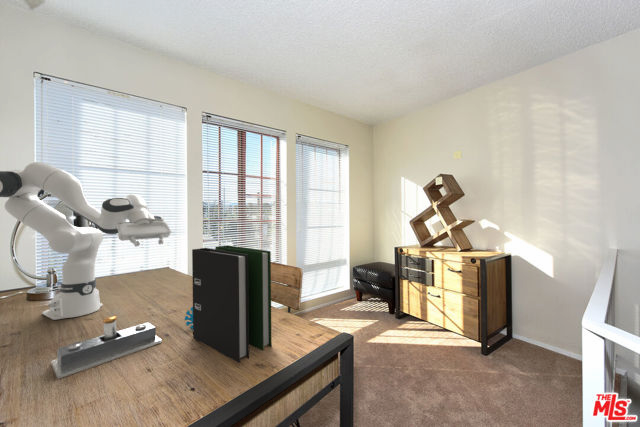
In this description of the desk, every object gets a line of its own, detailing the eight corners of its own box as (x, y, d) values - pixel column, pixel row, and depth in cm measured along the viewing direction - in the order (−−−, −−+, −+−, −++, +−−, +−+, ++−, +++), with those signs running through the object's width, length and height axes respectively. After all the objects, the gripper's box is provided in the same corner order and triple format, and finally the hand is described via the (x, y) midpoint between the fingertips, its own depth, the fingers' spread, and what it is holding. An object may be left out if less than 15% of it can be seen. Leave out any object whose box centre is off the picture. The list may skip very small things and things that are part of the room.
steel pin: (101, 350, 86) (100, 319, 86) (113, 345, 89) (112, 315, 89) (107, 352, 84) (107, 320, 84) (120, 347, 87) (119, 316, 88)
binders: (273, 345, 90) (272, 250, 90) (234, 365, 78) (233, 256, 78) (228, 324, 107) (227, 245, 107) (191, 338, 95) (190, 249, 95)
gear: (184, 329, 99) (185, 304, 106) (181, 336, 102) (182, 312, 109) (215, 326, 105) (214, 303, 111) (212, 333, 108) (211, 310, 115)
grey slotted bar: (57, 379, 73) (57, 358, 72) (51, 363, 80) (51, 345, 80) (161, 342, 93) (161, 326, 93) (149, 332, 100) (148, 318, 100)
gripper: (115, 217, 115) (123, 241, 109) (166, 217, 131) (175, 237, 125) (113, 227, 118) (119, 251, 112) (163, 225, 134) (171, 246, 127)
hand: (149, 244), depth 118 cm, fingers open, 8 cm apart
